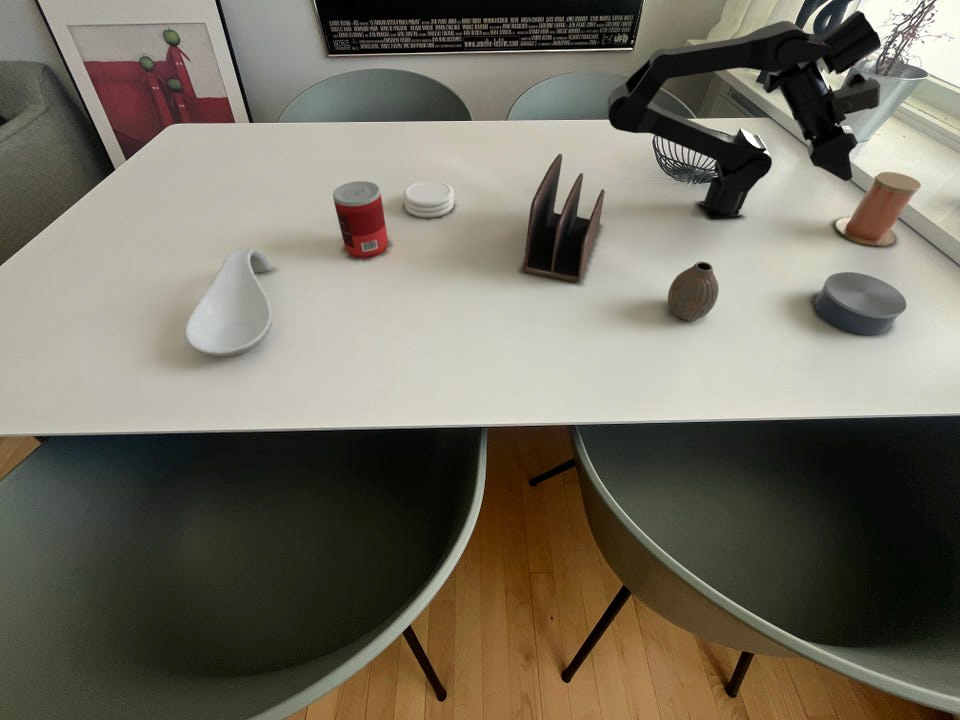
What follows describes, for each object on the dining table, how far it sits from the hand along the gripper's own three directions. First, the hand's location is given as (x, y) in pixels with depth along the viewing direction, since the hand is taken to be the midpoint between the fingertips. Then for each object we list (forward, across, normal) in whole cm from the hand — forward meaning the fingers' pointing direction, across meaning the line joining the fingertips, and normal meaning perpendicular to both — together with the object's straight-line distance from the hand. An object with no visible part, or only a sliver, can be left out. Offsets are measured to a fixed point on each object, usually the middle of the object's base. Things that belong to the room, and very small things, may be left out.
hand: (844, 168), depth 87 cm
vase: (-8, -36, +24) cm, 45 cm away
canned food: (-48, -36, +64) cm, 88 cm away
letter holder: (-24, -25, +40) cm, 53 cm away
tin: (+9, -28, +6) cm, 30 cm away
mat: (+14, -1, +2) cm, 14 cm away
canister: (+14, 0, +1) cm, 14 cm away
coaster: (-45, -19, +60) cm, 77 cm away
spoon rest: (-55, -60, +70) cm, 107 cm away
